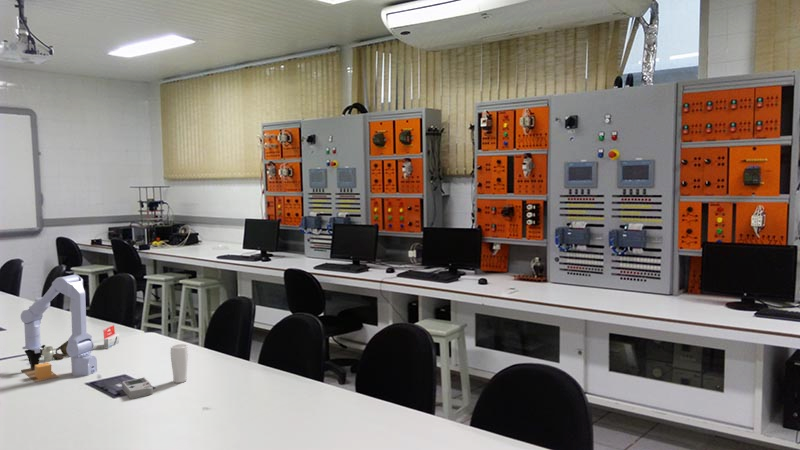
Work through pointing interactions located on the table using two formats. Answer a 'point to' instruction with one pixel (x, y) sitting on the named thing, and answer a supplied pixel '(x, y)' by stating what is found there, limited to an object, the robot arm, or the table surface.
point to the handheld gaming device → (137, 388)
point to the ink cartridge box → (110, 338)
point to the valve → (47, 353)
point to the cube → (43, 370)
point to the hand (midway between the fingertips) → (34, 366)
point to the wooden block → (31, 374)
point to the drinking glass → (179, 362)
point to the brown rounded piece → (63, 350)
